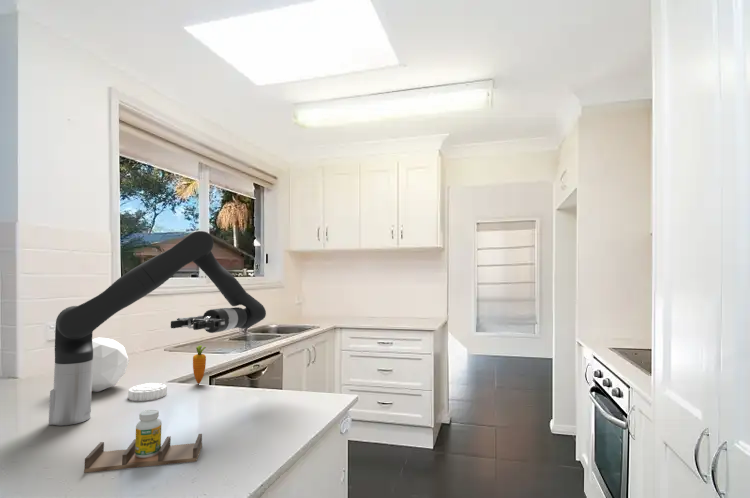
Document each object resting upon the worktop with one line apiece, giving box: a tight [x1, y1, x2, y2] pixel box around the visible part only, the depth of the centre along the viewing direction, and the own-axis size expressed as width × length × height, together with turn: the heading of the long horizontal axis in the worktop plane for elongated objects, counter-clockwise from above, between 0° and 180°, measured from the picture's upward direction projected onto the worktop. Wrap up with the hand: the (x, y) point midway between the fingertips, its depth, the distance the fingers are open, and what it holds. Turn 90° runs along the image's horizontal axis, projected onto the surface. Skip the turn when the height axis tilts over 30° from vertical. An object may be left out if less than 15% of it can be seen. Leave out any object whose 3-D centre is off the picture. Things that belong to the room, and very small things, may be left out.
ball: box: [92, 337, 130, 392], centre depth 157 cm, size 19×20×20 cm
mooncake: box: [127, 382, 168, 402], centre depth 149 cm, size 12×12×4 cm
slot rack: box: [83, 433, 203, 474], centre depth 99 cm, size 23×9×3 cm, turn 105°
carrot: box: [192, 345, 207, 385], centre depth 166 cm, size 5×5×15 cm
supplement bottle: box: [135, 409, 162, 458], centre depth 100 cm, size 5×5×10 cm
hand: (182, 325), depth 124 cm, fingers open, 8 cm apart
